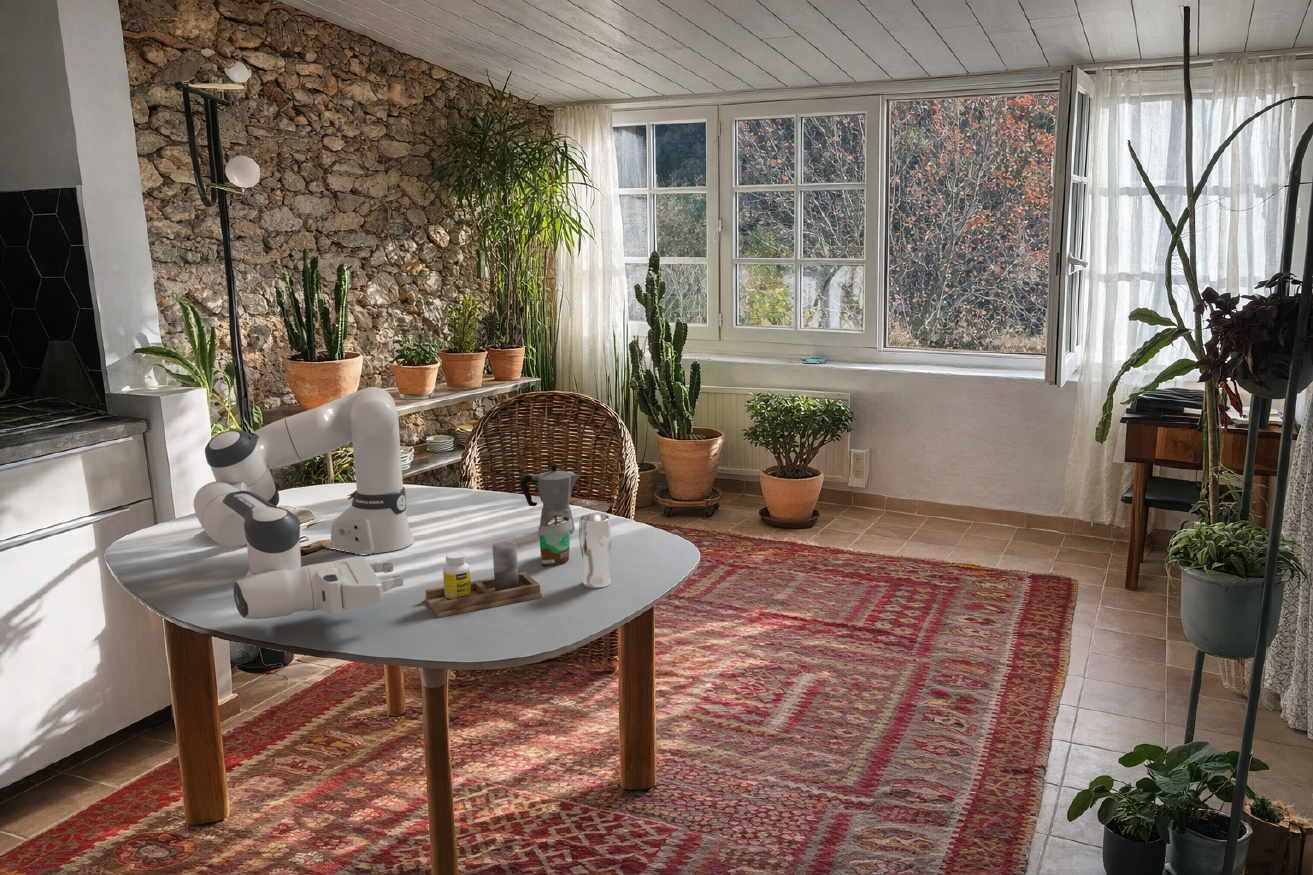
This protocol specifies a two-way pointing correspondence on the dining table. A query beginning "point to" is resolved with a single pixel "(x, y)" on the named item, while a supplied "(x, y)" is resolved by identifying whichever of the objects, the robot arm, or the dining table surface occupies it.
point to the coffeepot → (552, 492)
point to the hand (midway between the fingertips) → (397, 573)
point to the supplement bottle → (456, 576)
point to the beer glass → (595, 549)
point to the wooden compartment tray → (490, 586)
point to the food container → (555, 540)
